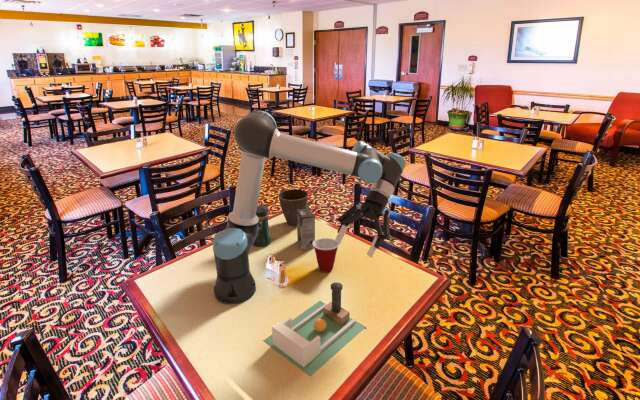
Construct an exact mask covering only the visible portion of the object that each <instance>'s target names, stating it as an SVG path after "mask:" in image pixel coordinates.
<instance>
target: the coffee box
mask: <svg viewBox="0 0 640 400" xmlns="http://www.w3.org/2000/svg"><path fill="white" fill-rule="evenodd" d="M296 214H297V226H296V235H297V243H298V244H299V246H300V249H301V250H302V251H303V250H309V249H310V250H311V249H314V247H313V244H312V243H313V241H315V240H316V217H315V214H314V212H313V211H312V210H311V209H310V208H309V207H308V208H306V209H298V210H296Z"/></svg>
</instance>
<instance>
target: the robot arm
mask: <svg viewBox="0 0 640 400" xmlns="http://www.w3.org/2000/svg"><path fill="white" fill-rule="evenodd" d="M233 137H234V141H235V142H236V144H237V149H238V151H240V153H241V155H240V159H239V160H240V162H239V166H238V167H239V169H238V175H237V176H238V177H237V182H236V188H235V195H234V203H233V209H232V211H231V212H229V213H228V214H227V223H226V228H225V229H222V230H220V231H218V232H217V233H216V234H215V235H214V238H213V241H212V251H213V255H214V263H215V269H216V278H215V284H214V288H213V293H214V294H213V295H214V297H215V299H216V300H217V301H218V302H220V303H222V304H230V305H231V304H240V303H243V302H245V301H247V300H249V299H251V298H252V297H253V296H254V295H255V293H256V291H257V285H256V281H255V278H254V277H253V274H252V273H251V270H250V263H249V262H250V261H249V260H250V259H249V255H250V252H251V250H252V247H253V243H254V241H255V240H256V238H257V236H258V221H259V218H258V217H257V215H256V210H257V206H258V204H259V198H260V193H261V186H262V180H263V175H264V174H263V173H264V168H265V163H266V159H272V158H274V157H275V158H280V159H284V160H289V161H292V162H297V163H300V164H303V165H308V166H312V167H316V168H320V169H324V170H327V171H333V172H336V173H341V174H344V175H348V176H352V177H355V178H359V179H360V180H361V181H362V182H363V183H364V184H371V186H370V188H369V189H370V190H369V191H368V193H367V194H366V196H365V200H364V202H363V203H360V202H359V200H355V202H354V203H353V204H352V206H351V207H350V208H348V209H347V211H345V212H344V213H343V214H342V215H340V216H339V218H337V222H339V223H340V225H339V227H338V229H337V235H336V237H335V242H336V243H337V244H339V246H340V244H341V242H342V240H343V239H344V236H345V234H346V232H347V230H348V226H350V225H351V224H353V223H355V222H357V221H358V220H360V219H363V218H365V219H366V220H371V221H373V222H374V226H375V230H376V234H377V236H375V237H374V239H373V240H372V242H371V245H370V247H369V249H368V251H367V253H366V255H367V256H368V257H370V258H373V256H374V254H375V252H376V250H377V249H379V248H380V246H381V244H382V242H383V241H389V240H390V238H391V237H390V233H391V232H390V228H391V227H390V218H391V216H392V213H391V211H389V209H386V207H387V205H388V202H389V199H390V198H391V197H392V194H393V192H394V191H395V188H396V186H397V184H398V182H399V179H401V176H402V175H403V171H404V170H405V168H406V167H405V166H406V160H405V158H404V157H403V156H402V155H400V154H397V153H395V152H388V153H387V154H386V155H385V154H384V153H382V152H381V151H379V150H378V149H376V148H374V147H372V146H371V145H370V144H368V143H366V142H365V141H362V140H359V141H356V142H355V144H354V146H353V147H352V149H351V150H350V149H347V148H346V149H345V148H342V147H337V146H333V145H329V144H326V143H321V142H318V141H313V140H310V139H306V138H302V137H298V136H294V135H289V134H286V133H282V132H280V131H279V129H278V128H277V122H276V120H275V118H274V117H273V116H272V115H271V114H270V113H269V112H267V111H264V110H255V111H254V110H253V111H251V112H249V113H247V114H246V116H244V117H243V118H241V119H239V121H238V122H237V123H236V125H235V126H234V130H233ZM384 209H386V210H384ZM381 216H382V217H383V228H382V226H381V219H380V217H381Z"/></svg>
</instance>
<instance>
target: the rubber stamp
mask: <svg viewBox="0 0 640 400" xmlns="http://www.w3.org/2000/svg"><path fill="white" fill-rule="evenodd" d="M330 290H331V301H330V302H328V303H326V304H327V305H326V306H324V307H323V315H325V316H326V317H328V318H330V319H331V320H333V321H335V322H336V323H338V324H340V325H341V326H342V325H343V324H344V323H346V322H347V321H348V320H349V318H351V315H350V311H349V310H347V309H345V308H343V307H342V290H343V284H342V283H341V282H339V281H338V282H335V281H334V282H331V284H330Z"/></svg>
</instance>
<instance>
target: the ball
mask: <svg viewBox="0 0 640 400" xmlns="http://www.w3.org/2000/svg"><path fill="white" fill-rule="evenodd" d="M314 328H315V330H316V331H318V332H322V331H324V330H325V329H326V322H325V320H323V319H317V320H316V321H315V322H314Z"/></svg>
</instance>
